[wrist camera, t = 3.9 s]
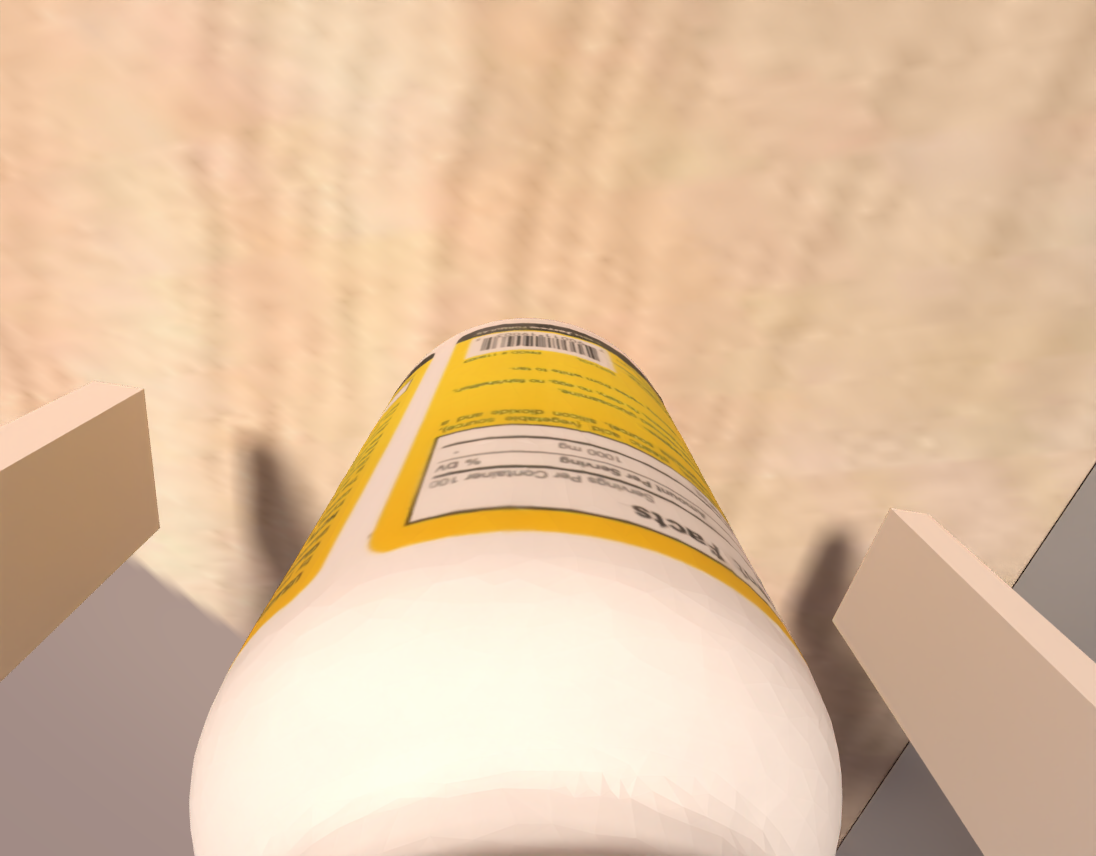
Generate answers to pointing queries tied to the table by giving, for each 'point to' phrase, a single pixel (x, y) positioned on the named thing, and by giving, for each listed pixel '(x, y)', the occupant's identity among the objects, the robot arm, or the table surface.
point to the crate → (910, 789)
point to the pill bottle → (519, 640)
